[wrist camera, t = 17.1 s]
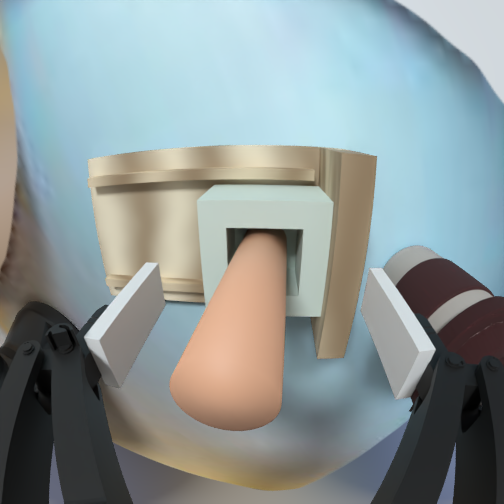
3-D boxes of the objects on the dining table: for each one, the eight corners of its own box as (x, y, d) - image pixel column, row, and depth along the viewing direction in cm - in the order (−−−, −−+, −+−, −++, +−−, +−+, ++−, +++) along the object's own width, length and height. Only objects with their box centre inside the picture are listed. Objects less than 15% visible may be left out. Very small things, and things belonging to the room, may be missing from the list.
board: (116, 289, 28) (77, 335, 20) (94, 157, 22) (35, 172, 15) (327, 298, 26) (343, 357, 19) (341, 148, 21) (376, 156, 13)
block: (219, 276, 24) (206, 313, 19) (214, 184, 21) (196, 200, 16) (311, 278, 24) (320, 316, 19) (318, 186, 21) (333, 202, 16)
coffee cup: (437, 311, 26) (499, 407, 13) (359, 322, 27) (401, 445, 14) (453, 228, 22) (554, 308, 9) (368, 232, 23) (455, 344, 10)
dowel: (244, 260, 22) (179, 422, 8) (244, 219, 21) (160, 351, 7) (285, 262, 21) (277, 434, 7) (287, 221, 20) (285, 364, 6)
